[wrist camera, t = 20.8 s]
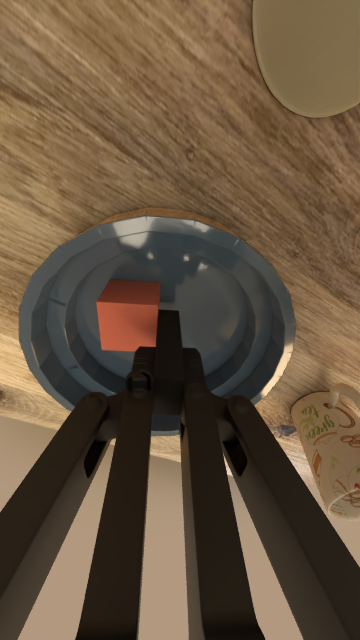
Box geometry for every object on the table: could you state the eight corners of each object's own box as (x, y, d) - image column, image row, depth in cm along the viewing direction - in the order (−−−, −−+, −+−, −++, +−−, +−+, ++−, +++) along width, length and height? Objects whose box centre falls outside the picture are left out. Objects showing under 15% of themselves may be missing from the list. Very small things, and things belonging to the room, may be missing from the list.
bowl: (301, 220, 17) (347, 233, 12) (241, 396, 27) (254, 437, 23) (24, 193, 15) (-33, 199, 11) (71, 392, 25) (52, 435, 21)
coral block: (160, 282, 18) (158, 305, 15) (158, 323, 20) (156, 352, 17) (109, 278, 18) (96, 301, 14) (112, 321, 20) (101, 350, 16)
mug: (280, 430, 31) (322, 524, 23) (283, 365, 24) (345, 463, 16) (342, 421, 30) (409, 513, 22) (362, 351, 24) (469, 445, 15)
